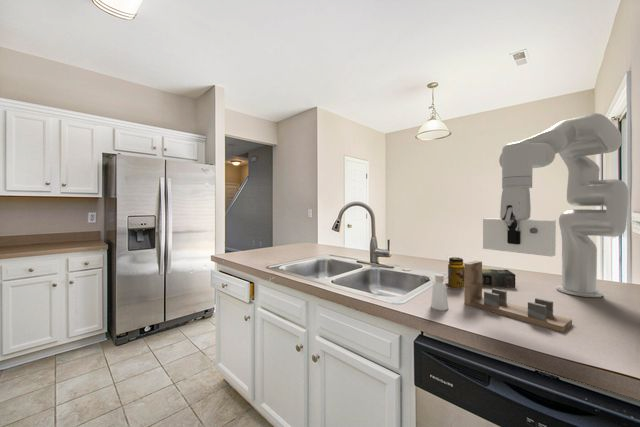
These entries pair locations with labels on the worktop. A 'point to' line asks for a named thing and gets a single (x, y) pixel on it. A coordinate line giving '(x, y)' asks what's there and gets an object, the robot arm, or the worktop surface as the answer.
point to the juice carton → (498, 278)
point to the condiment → (455, 273)
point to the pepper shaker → (439, 294)
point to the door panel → (521, 236)
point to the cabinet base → (497, 303)
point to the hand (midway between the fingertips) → (516, 242)
